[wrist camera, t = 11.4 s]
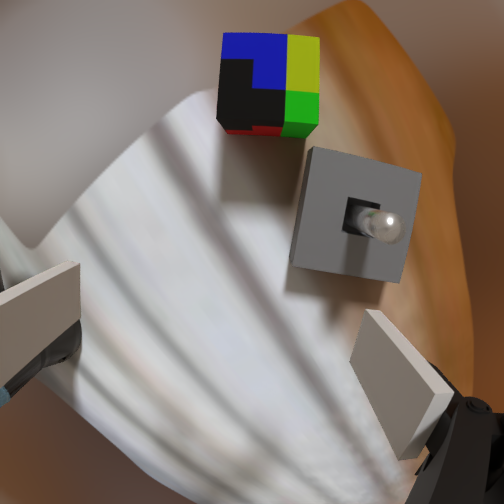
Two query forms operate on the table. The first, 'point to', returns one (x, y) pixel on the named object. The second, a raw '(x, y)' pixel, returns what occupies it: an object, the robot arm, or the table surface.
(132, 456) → the table surface
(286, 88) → the puzzle toy
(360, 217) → the pin
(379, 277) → the socket block
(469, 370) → the table surface
